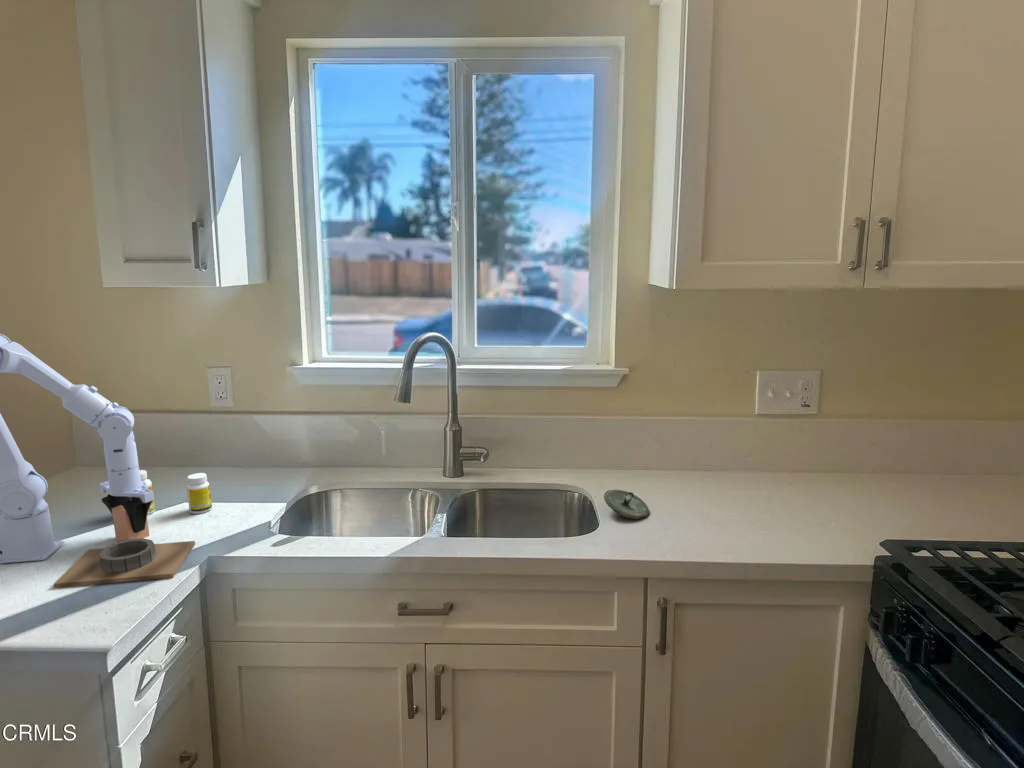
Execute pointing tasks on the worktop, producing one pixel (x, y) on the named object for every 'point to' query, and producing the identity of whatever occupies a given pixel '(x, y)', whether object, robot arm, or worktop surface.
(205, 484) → the supplement bottle
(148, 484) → the supplement bottle
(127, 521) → the peg block
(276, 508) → the worktop surface
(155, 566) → the collar board
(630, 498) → the lid
